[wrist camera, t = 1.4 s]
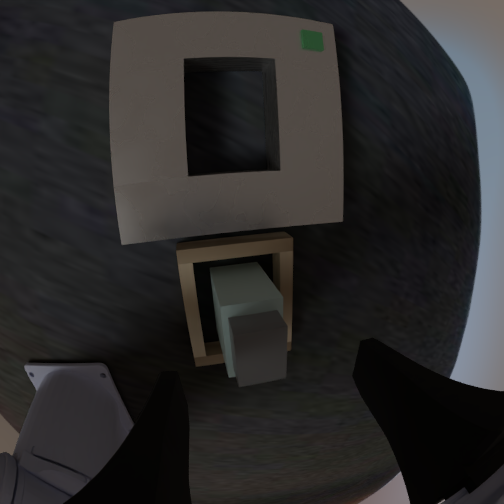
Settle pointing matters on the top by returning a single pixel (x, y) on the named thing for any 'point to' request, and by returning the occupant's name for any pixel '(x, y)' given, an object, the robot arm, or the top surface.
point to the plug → (249, 323)
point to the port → (174, 136)
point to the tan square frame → (228, 249)
